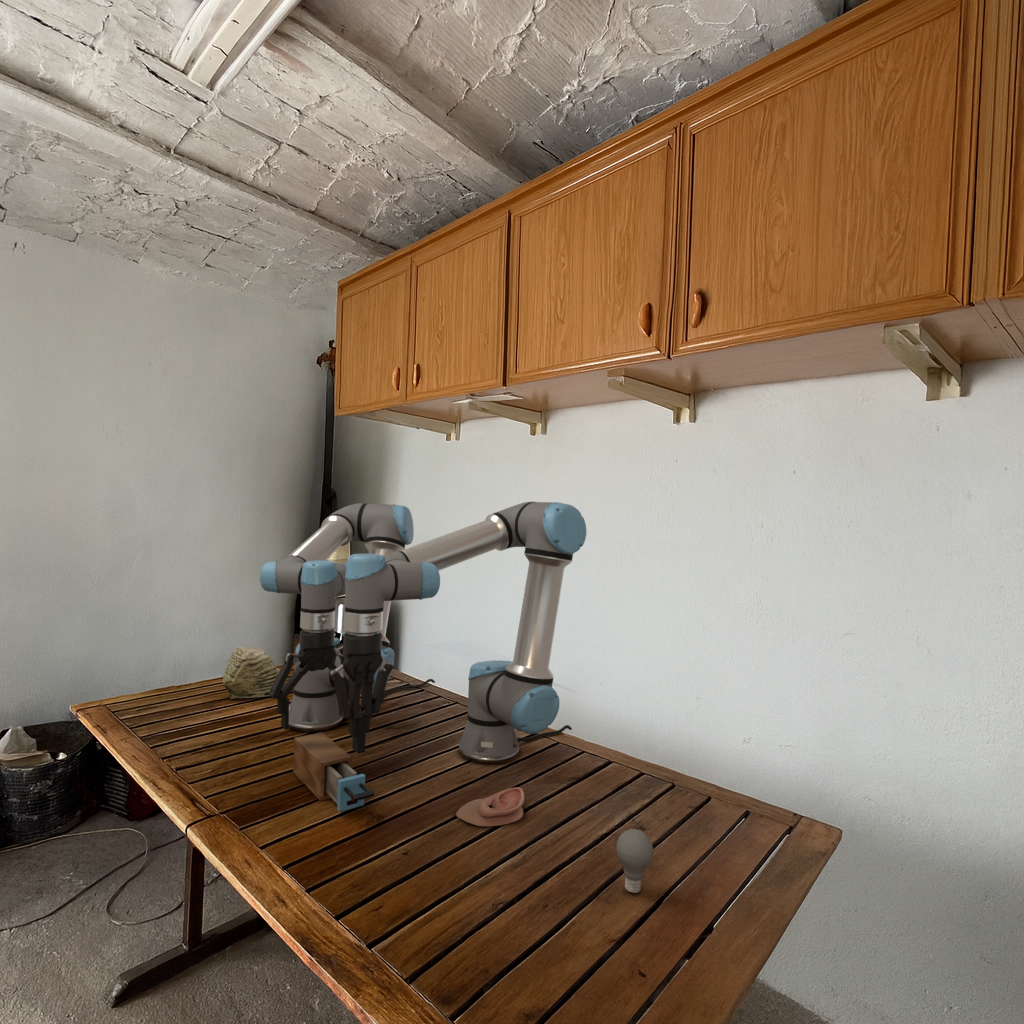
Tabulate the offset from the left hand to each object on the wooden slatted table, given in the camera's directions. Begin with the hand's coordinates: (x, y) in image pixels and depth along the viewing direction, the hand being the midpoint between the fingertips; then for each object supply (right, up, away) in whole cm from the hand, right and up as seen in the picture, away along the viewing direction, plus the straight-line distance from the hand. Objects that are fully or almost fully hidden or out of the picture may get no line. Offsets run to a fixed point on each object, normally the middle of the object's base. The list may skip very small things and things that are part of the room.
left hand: (314, 721), depth 145 cm
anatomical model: (+41, -14, -15) cm, 46 cm away
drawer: (+10, -12, -13) cm, 20 cm away
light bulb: (+65, -16, -39) cm, 78 cm away
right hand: (+15, 0, -19) cm, 24 cm away
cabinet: (+3, -12, -4) cm, 13 cm away
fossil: (-36, -9, +53) cm, 65 cm away
